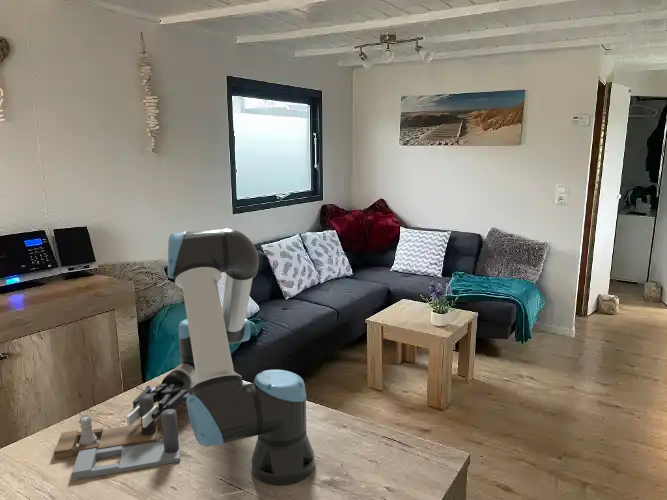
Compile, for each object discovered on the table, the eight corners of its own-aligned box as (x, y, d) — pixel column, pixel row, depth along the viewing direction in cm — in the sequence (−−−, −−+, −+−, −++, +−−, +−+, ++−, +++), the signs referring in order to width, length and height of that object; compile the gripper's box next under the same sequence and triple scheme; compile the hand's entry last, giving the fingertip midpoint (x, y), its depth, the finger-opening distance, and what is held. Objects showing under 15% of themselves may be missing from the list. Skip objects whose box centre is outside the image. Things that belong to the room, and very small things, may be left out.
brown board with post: (156, 442, 133) (152, 403, 131) (54, 459, 126) (49, 418, 124) (157, 424, 141) (154, 388, 139) (62, 439, 135) (57, 401, 133)
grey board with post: (180, 461, 125) (176, 420, 123) (72, 480, 118) (67, 437, 116) (180, 441, 133) (177, 402, 131) (80, 458, 127) (75, 417, 124)
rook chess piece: (101, 440, 135) (98, 412, 133) (92, 450, 130) (88, 422, 129) (85, 439, 135) (82, 412, 133) (75, 449, 131) (71, 421, 129)
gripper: (206, 394, 152) (166, 438, 129) (154, 390, 155) (107, 432, 132) (204, 371, 150) (164, 411, 128) (152, 367, 153) (104, 406, 131)
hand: (135, 422), depth 130 cm, fingers closed on brown board with post, 4 cm apart
